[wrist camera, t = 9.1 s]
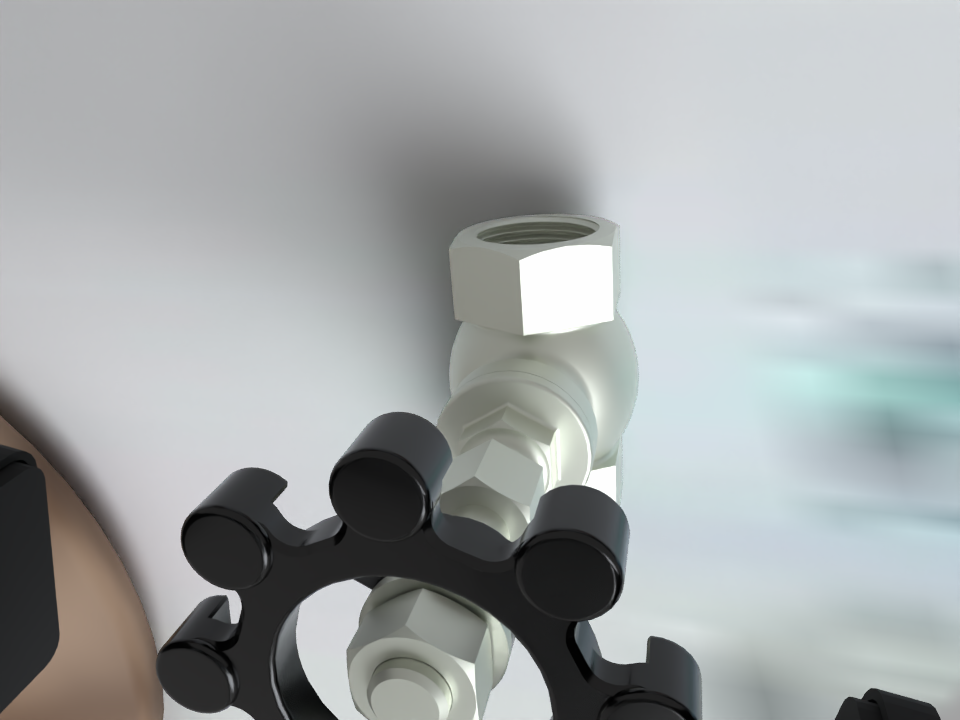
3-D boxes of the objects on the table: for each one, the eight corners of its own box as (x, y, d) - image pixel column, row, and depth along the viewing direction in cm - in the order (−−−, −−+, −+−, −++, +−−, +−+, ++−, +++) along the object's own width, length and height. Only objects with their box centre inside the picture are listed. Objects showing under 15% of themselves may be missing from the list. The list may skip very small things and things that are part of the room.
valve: (440, 456, 22) (204, 865, 11) (415, 213, 20) (88, 438, 9) (692, 468, 21) (695, 955, 10) (698, 206, 18) (711, 466, 7)
